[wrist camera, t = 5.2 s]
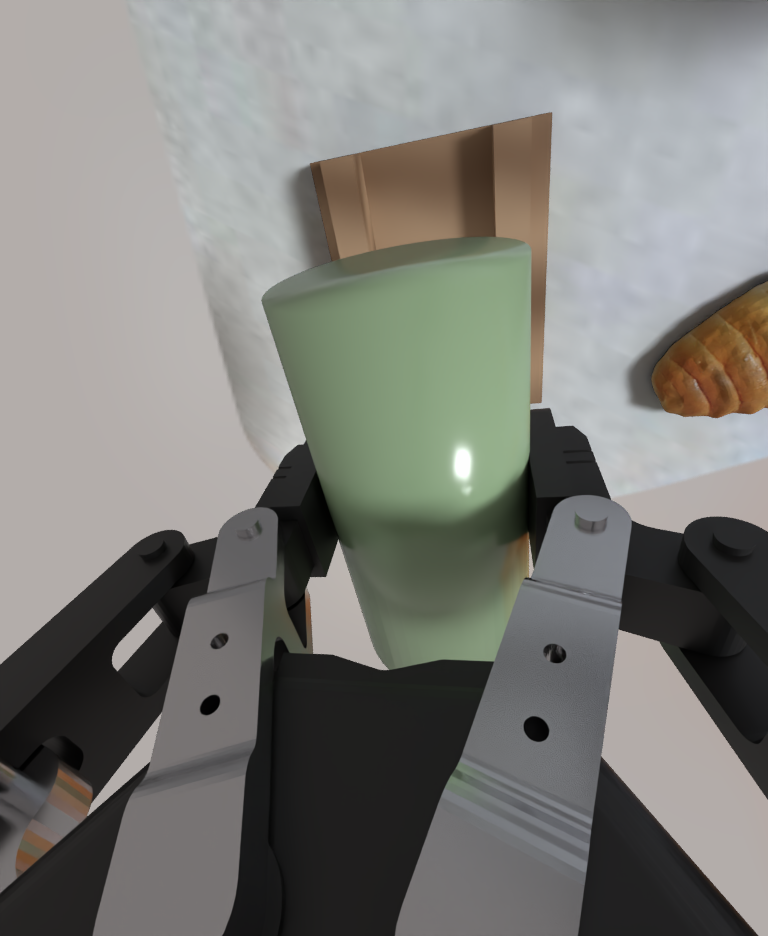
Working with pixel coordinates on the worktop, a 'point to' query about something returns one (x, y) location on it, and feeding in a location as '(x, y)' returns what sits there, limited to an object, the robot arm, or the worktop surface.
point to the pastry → (719, 362)
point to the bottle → (419, 432)
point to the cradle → (447, 199)
